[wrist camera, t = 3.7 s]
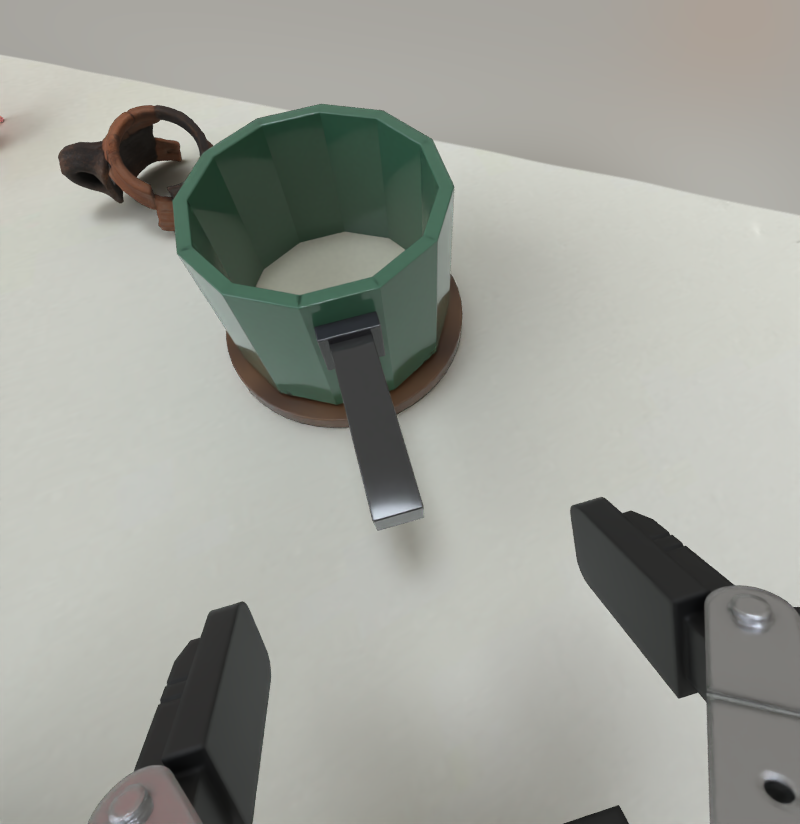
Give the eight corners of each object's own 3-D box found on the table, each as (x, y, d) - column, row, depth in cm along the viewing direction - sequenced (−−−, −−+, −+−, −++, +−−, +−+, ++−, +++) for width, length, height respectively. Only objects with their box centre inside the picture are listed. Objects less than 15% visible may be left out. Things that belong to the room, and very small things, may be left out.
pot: (230, 260, 38) (166, 138, 29) (413, 215, 39) (407, 83, 30) (279, 586, 27) (202, 555, 18) (531, 513, 28) (577, 449, 19)
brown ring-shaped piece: (211, 148, 47) (206, 88, 39) (233, 245, 47) (232, 205, 39) (67, 152, 43) (29, 87, 35) (90, 258, 43) (58, 217, 35)
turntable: (500, 377, 33) (502, 368, 32) (260, 464, 32) (254, 457, 31) (412, 212, 41) (411, 200, 40) (212, 275, 39) (206, 265, 38)
